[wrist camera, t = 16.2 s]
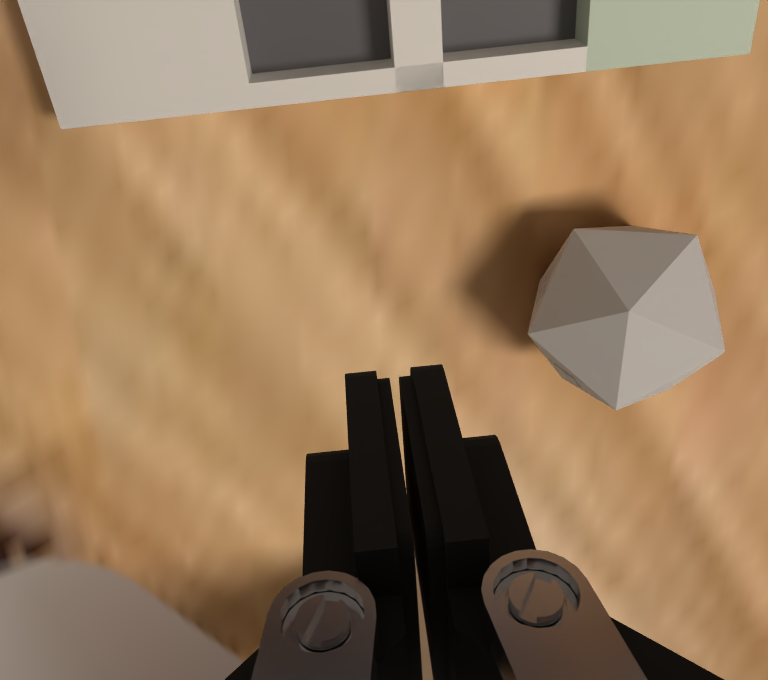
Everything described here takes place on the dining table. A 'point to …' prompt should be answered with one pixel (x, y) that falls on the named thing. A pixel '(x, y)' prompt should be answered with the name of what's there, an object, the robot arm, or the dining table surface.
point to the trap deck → (346, 48)
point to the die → (627, 312)
